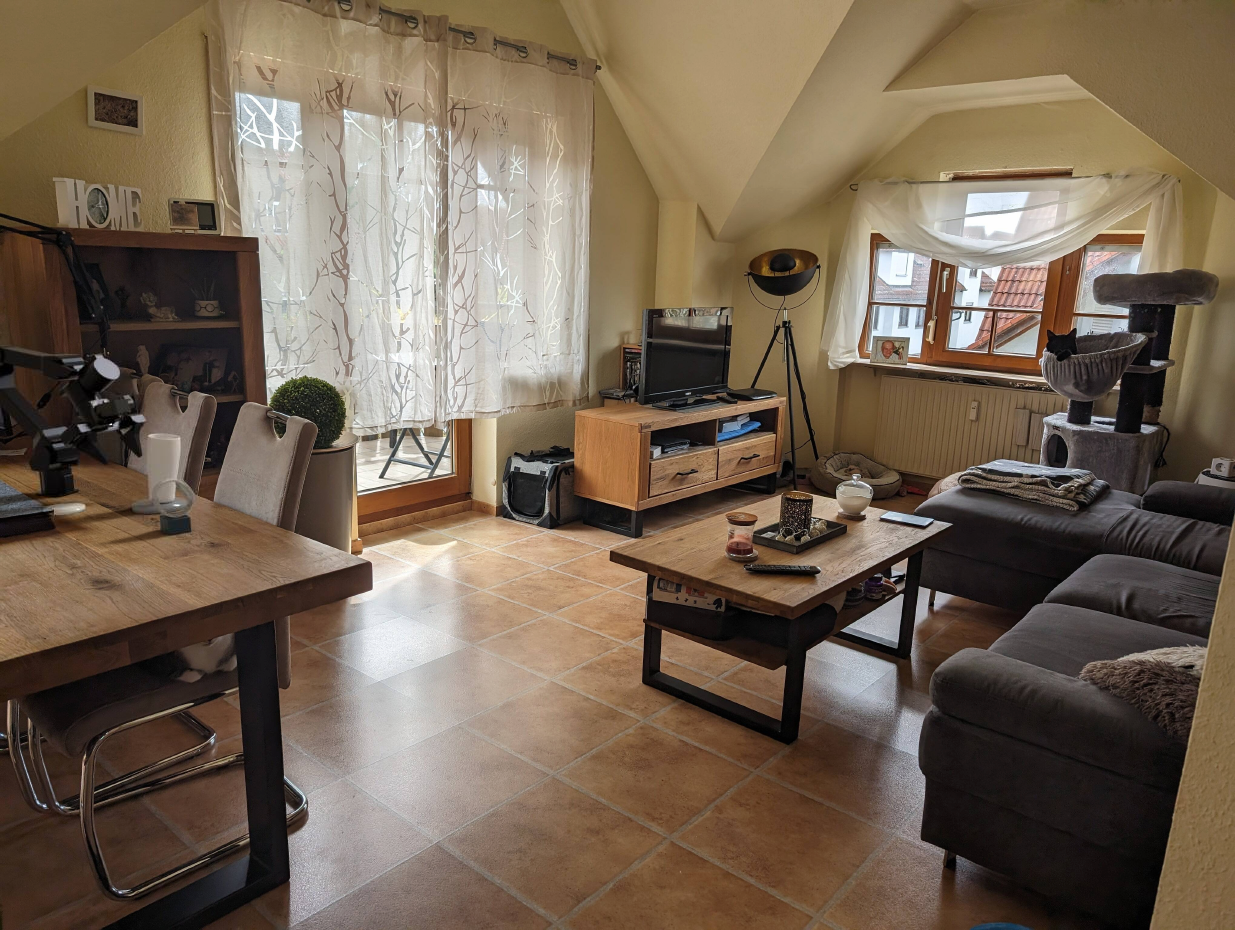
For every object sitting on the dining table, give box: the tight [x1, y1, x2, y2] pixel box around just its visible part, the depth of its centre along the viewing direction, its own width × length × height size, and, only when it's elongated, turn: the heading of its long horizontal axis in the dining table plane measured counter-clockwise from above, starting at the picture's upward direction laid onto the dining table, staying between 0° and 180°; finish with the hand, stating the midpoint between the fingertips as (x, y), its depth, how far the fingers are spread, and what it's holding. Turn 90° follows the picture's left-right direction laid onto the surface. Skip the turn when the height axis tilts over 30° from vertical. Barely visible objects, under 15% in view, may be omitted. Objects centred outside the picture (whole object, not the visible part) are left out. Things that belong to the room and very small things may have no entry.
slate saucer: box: [131, 496, 188, 515], centre depth 197 cm, size 11×11×1 cm
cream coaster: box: [46, 502, 87, 516], centre depth 192 cm, size 8×8×1 cm
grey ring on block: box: [152, 478, 196, 536], centre depth 179 cm, size 6×8×11 cm
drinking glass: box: [146, 433, 182, 503], centre depth 196 cm, size 7×7×15 cm
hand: (124, 460), depth 199 cm, fingers open, 9 cm apart
